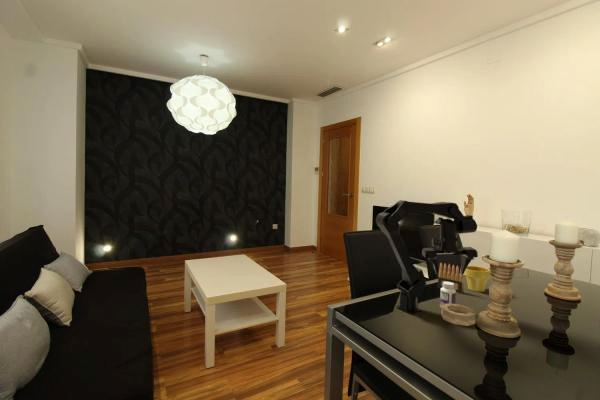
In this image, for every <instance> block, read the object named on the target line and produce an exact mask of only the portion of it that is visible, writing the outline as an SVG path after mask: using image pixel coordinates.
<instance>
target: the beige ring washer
mask: <svg viewBox="0 0 600 400" xmlns="http://www.w3.org/2000/svg"><path fill="white" fill-rule="evenodd" d="M476 315H477V314H476V312H475V311H474V309H473V308H471V307H468V306H465V305H463V304H460V303H459V304H458V303H457V304H456V303H455V304H450V303H448V304H445V305H442V308H441V315H440V316H441V317H442V319H443V320H444V321H446V322H448V323H451V324H453V325H458V326H465V327H470V326H473V325H475V324H476Z"/></svg>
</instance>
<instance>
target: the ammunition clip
mask: <svg viewBox="0 0 600 400" xmlns="http://www.w3.org/2000/svg"><path fill="white" fill-rule="evenodd" d="M459 267H460V266H459V265H456V267H455V264H452V267H451V264H450V263H448V266H447V264H446V262H445V263H444V265H443V262H440V263H439V268H438V276H437V277H438V279H437V287H438V288H437V289H441V288H442V287H443V282H452V283H454V288H453V289H455V290H456V294H457V293H458V294H464V274H463V275H462V274H461V268H460V269H459Z"/></svg>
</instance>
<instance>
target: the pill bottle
mask: <svg viewBox="0 0 600 400" xmlns="http://www.w3.org/2000/svg"><path fill="white" fill-rule="evenodd" d="M453 288H454V283H452V282H447V281H446V282H443V287H442V288H440V295H439V296H440V297H439V307H440V308H441V309H442V305H445V304H448V303H450V304H456V302H457V300H456V298H457V292H456V290H455V289H453Z"/></svg>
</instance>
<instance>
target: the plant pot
mask: <svg viewBox="0 0 600 400" xmlns="http://www.w3.org/2000/svg"><path fill="white" fill-rule="evenodd" d="M463 275H465V279H466V284H467V288H468V289H469V290H471V291H474V292H477V293H478V292H479V293H481V292H485V291H486V288H487V285H488V281H489V279H490V278H491V270H490V269H489V268H487V267H483V266H477V265H468V266H467V268H466V270H465V272H464V274H463Z"/></svg>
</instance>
